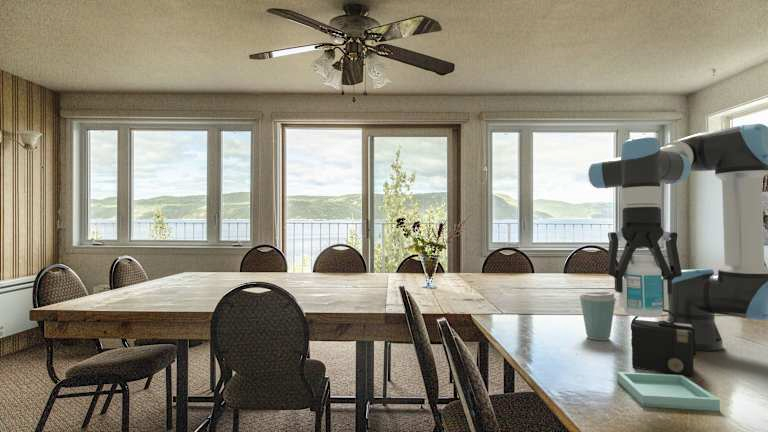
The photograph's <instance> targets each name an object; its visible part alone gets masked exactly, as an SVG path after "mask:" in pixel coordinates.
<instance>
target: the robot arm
mask: <svg viewBox="0 0 768 432" xmlns="http://www.w3.org/2000/svg"><path fill="white" fill-rule="evenodd" d="M660 142H661V141H660V139H658V138H657V137H651V136H649V137H648V136H645V137H635V138H631V139H628V140H625V141H623V143H622V144H621V156H620V157H616V158H610V159H602V160H599V161H594V162H593V163H591V165H590V166H589V169H588V173H587V174H588V181H589V182H590V184H591V186H593V188H596V189H611V188H620V187H621V188H622V189H621V190H622V195H621V196H622V197H621V198H622V199H621V200H622V201H621V202H622V205H623V208H622V228H621V230H619V231H610V232H608V233H607V237H608V241H609V242H608V243H609V245H608V251H607V258H606V263H605V274H606V275H608V276H611V277H613V278H614V291H615V292H616V293H619V295H618V296H619V307H620V308H623V309H625V308H627V279H625V278H624V277H623V276H624V273H625V271H626V269H627V266H628V265H629V264H630V263H631V261H630V259H631V257H632V255H634V252H636V249H637V248H638V249H639V248H646V249H648V250H649V252H650V255H653V256H654V262H655V264H656V266H658V267H659V268H660V269H661V273H662V300H663V309H666V310H670V311H672V312H673V313H674V315H675V322H681V323H690V324H692V326H693V328H694V330H695V343H696V351H704V352H706V351H707V352H711V351H712V352H713V351H714V352H715V351H721V350H723V348H724V345H723V343H724V342H723V338H722V336H721V333H720V332H719V328H718V326H717V324H716V321H715V319H716V318H715V314H716V315H719V316H726V317H727V316H728V317H734V318H735V317H736V318H740V319H747V320H748V321H751V320H752V321H764V322H765V321H768V267H767V265H765V240H764V239H765V238H764V213H763V211H764V206H763V204H764V203H763V180H762V179H763V178H764V177H765V176H766V175H767V174H768V126H767V125H765V124H762V123H754V124H752V123H751V124H742V125H739V126H737V125H736V126H732V127H727V128H721V129H716V130H711V131H705V132H699V133H696V134H693V135H690V136H685V137H683V138H680V139H677V140H673V141H669V142H668V143H666V144H665V145H663V146H662V147H661V143H660ZM708 171H709V172H711V171H714V176H715V177H716V178H718V179H719V180H721V189H722V190H721V191H722V193H721V194H722V217H723V218H722V220H723V221H722V222H723V250H724V252H723V254H724V256H723V257H724V260H723V261H724V263H723V265H722V266H720V267H719V268H717V273H718V274H715V271H714V269H712V268H695V269H693V268H691V269H690V268H689V269H682V267H681V263H680V256H679V251H678V246H677V241H678V233H677V232H675V231H674V232H673V231H672V232H671V231H665V230H664V229H663V228H662V208H661V207H659V205H662V198H661V197H662V195H661V194H662V193H661V190H662V189H661V184H666V185H672V184H679V183H681V182H683V181H685V180H686V179H687V178H688V177H689V176H690V173H691V172H708ZM624 206H625V207H624ZM621 238H623V239H624V240H625V241H626V243H625V245H624V249H623V252H622V255H621V257H620V258H619V261H618V263H617V258H618V251H619V242H620V241H621ZM661 238H663V241H664V242H665V243H664V244H665V249H666V254H667V261H668V263H667V261H666V259H665V257H664V255H663V253H662V250H661V249H662V248H661V247H660V244H659V240H660V239H661ZM616 263H617V264H616ZM667 313H668V314H667V315H668V316H667V319H666V321H672V320H673V319H674V316H673V315H672V314H671V313H669V312H667Z"/></svg>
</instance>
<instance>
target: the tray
mask: <svg viewBox="0 0 768 432" xmlns="http://www.w3.org/2000/svg"><path fill="white" fill-rule="evenodd" d="M616 381H617V382H618V384H620V386H621V387H622V388H623V389H625V391H626V392H628V393H629V394H630V395H631V396H632V397H633V398H634V400H636V401H637V402H638V403H639V404H640V405H641V406H642V407H651V408H667V409H679V410H680V409H682V410H694V411H695V410H697V411H714V412H721V411H720V410H721V400H720V399H719V398H717V396H714V395H713V394H712V393H710V392H709V391H707V390H705V389H704V388H702V387H701V386H700V385H698V384H696V383H695V382H694V381H692V380H691V379H689V378H688V377H686V376H685V375H681V374H670V373H669V374H668V373H667V374H666V373H646V372H645V373H644V372H627V371H626V372H625V371H616Z"/></svg>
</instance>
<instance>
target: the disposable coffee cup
mask: <svg viewBox="0 0 768 432" xmlns="http://www.w3.org/2000/svg"><path fill="white" fill-rule="evenodd" d="M614 293H615V292H611V291H590V292H583V293H581V294H580V296H579V299H580V305H581V309H582V315H583V322H584V328H585V334H586V335H587V338H588V339H589V340H594V341H595V340H596V341H609V340H610V337H611V332H612V325H613V319H614V313H615V312H614V311H615V305H616V301H617V300H616V299H617V298H616V296H615V294H614Z"/></svg>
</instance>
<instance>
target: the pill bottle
mask: <svg viewBox="0 0 768 432" xmlns="http://www.w3.org/2000/svg"><path fill="white" fill-rule="evenodd" d="M654 262H655V260H654V256H653V255H652V254H633V255H632V257H631V259H630V263H629V264H628V266H627V269H626V271H625V273H624V276H623V278H625V279H627V308H624V312H625V314H627V315H629V316H632V317H636V316H638V318H659V317H663V313H664V312H663V300H662V279H663V277H662V273H661V269H660V268H659V267H658V266H657V264H656V265H655V264H654Z"/></svg>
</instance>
